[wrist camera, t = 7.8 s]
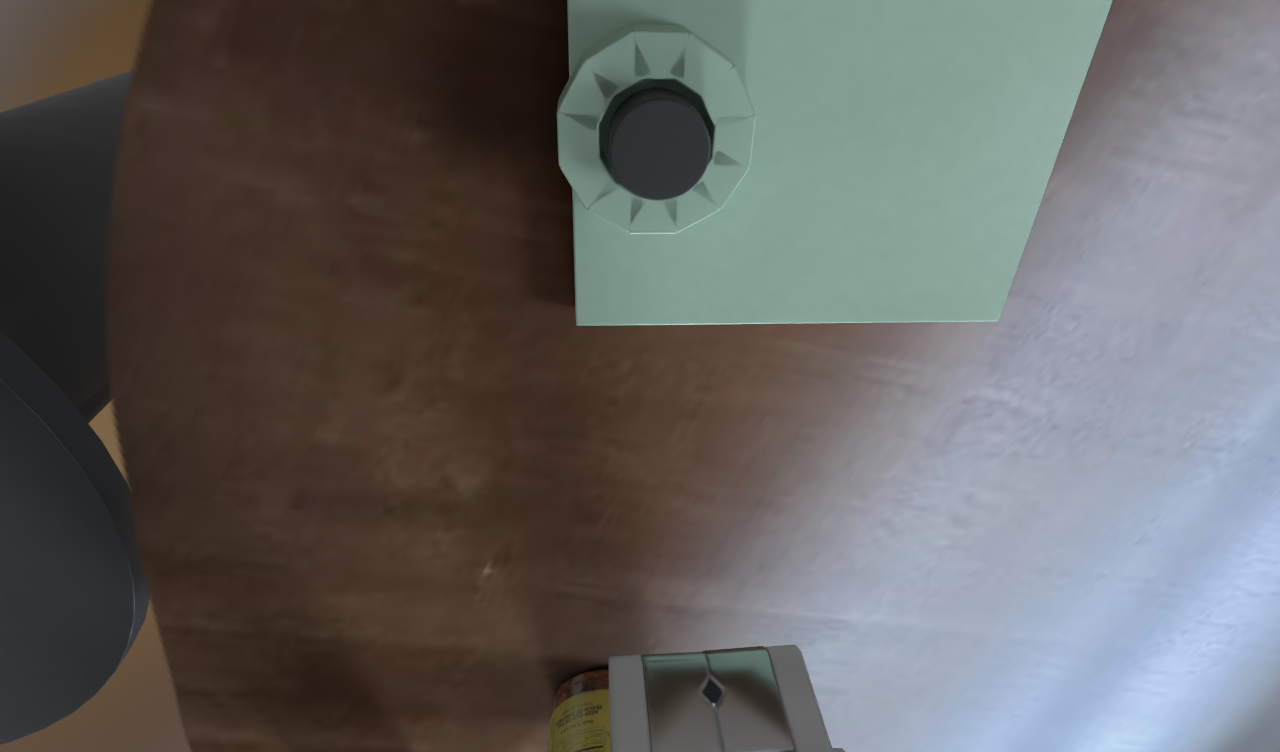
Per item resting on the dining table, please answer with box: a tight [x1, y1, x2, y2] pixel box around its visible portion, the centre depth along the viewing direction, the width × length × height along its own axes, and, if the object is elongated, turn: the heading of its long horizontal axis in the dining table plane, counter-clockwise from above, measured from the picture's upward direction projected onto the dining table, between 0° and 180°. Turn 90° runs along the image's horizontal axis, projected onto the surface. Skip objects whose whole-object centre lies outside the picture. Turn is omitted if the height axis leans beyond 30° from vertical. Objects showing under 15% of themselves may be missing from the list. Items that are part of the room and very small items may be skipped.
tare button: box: [608, 87, 711, 201], centre depth 20 cm, size 3×3×2 cm
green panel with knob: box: [557, 0, 1113, 326], centre depth 22 cm, size 16×14×3 cm
